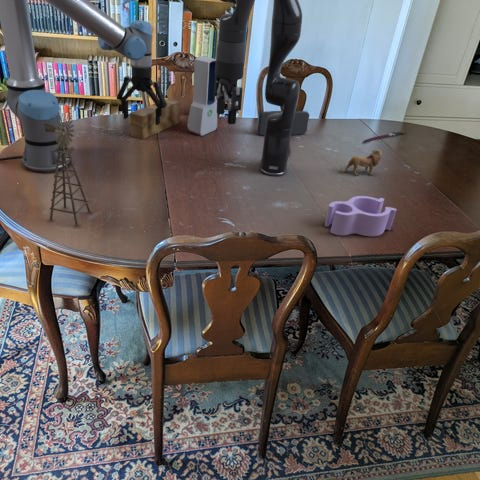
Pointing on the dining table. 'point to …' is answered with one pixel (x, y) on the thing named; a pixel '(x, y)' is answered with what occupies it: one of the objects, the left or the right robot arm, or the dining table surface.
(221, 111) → the right robot arm
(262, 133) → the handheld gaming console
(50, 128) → the miniature windmill
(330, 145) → the dining table surface
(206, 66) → the electronic device
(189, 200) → the dining table surface
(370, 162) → the lion figurine
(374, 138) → the sword
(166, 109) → the bar
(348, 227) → the clip
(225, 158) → the dining table surface
